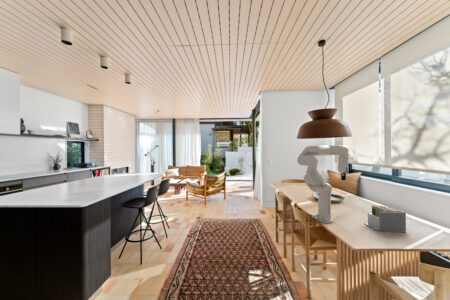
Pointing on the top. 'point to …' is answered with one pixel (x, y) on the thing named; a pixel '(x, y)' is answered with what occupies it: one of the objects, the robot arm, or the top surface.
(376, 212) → the tea box
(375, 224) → the bookend
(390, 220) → the shelf wall
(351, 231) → the top surface
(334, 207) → the top surface
